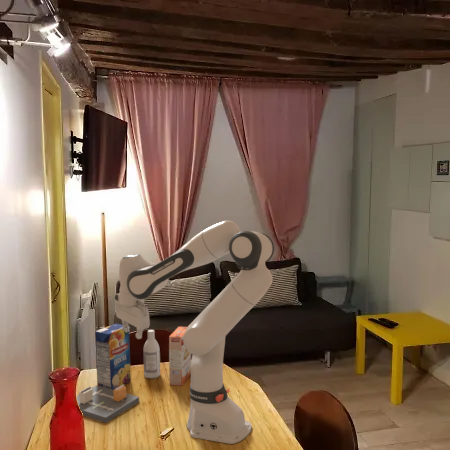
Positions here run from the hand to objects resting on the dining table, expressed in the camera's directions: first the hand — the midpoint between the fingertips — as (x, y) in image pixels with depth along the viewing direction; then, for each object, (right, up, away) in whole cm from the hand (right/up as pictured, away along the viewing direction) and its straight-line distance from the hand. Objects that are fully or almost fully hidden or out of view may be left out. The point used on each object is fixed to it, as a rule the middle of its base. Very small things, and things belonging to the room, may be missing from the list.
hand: (132, 334), depth 180 cm
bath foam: (+3, -25, +31) cm, 40 cm away
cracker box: (+15, -25, +27) cm, 40 cm away
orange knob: (-6, -25, +4) cm, 26 cm away
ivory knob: (-18, -25, +3) cm, 31 cm away
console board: (-13, -28, +4) cm, 31 cm away
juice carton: (-12, -26, +22) cm, 36 cm away
